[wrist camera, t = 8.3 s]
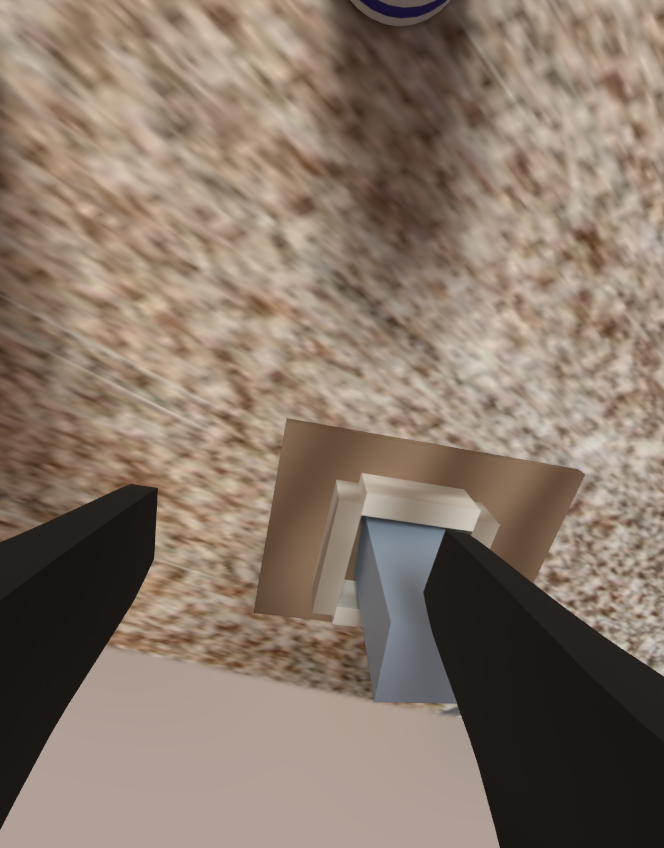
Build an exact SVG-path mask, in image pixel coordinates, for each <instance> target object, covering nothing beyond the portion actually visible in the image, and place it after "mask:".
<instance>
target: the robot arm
mask: <svg viewBox="0 0 664 848" xmlns="http://www.w3.org/2000/svg"><path fill="white" fill-rule="evenodd" d="M157 493H158V488H154V487H147V486H140V485H134V484H130V485H127V486H125V487H122V488H120V489H118V490H115V491H113V492H111V493H109V494H107V495H105V496H102V497H100V498H98V499H96V500H94V501H92V502H90V503H88V504H85V505H83V506H81V507H79V508H77V509H75V510H73V511H70V512H68V513H66V514H64V515H62V516H60V517H57V518H55V519H53V520H51V521H49V522H47V523H44V524H42V525H40V526H38V527H35V528H33V529H31V530H28V531H26V532H24V533H21V534H19V535H17V536H14V537H12V538H9V539H7V540H5V541H2V542H0V829H1V827H2V825H3V823H4V821H5V819H6V817H7V816H8V814H9V812H10V810H11V808H12V806H13V804H14V802H15V800H16V798H17V796H18V795H19V793H20V791H21V789H22V787H23V785H24V783H25V781H26V779H27V778H28V776H29V774H30V772H31V770H32V768H33V766H34V764H35V763H36V761H37V759H38V757H39V755H40V753H41V751H42V749H43V747H44V746H45V744H46V742H47V740H48V738H49V736H50V734H51V733H52V731H53V729H54V728H55V726H56V724H57V723H58V721H59V719H60V718H61V716H62V714H63V712H64V710H65V709H66V707H67V706H68V704H69V703H70V701H71V699H72V698H73V696H74V695H75V693H76V692H77V690H78V688H79V687H80V685H81V684H82V682H83V680H84V679H85V677H86V676H87V674H88V673H89V671H90V669H91V668H92V666H93V665H94V663H95V662H96V660H97V658H98V657H99V655H100V654H101V652H102V651H103V649H104V647H105V646H106V644H107V643H108V641H109V640H110V638H111V636H112V635H113V633H114V632H115V630H116V628H117V627H118V625H119V624H120V622H121V621H122V619H123V617H124V616H125V614H126V613H127V611H128V609H129V608H130V606H131V604H132V603H133V601H134V600H135V598H136V596H137V593H138V591H139V589H140V587H141V585H142V583H143V581H144V579H145V577H146V575H147V573H148V571H149V568H150V566H151V564H152V562H153V560H154V551H155V531H156V512H157ZM423 594H424V599H425V604H426V609H427V614H428V618H429V622H430V626H431V630H432V634H433V637H434V640H435V643H436V646H437V649H438V652H439V654H440V657H441V660H442V663H443V666H444V669H445V671H446V674H447V677H448V680H449V683H450V685H451V688H452V691H453V694H454V696H455V699H456V702H457V705H458V708H459V710H460V713H461V716H462V719H463V721H464V724H465V727H466V730H467V733H468V735H469V738H470V741H471V745H472V748H473V751H474V754H475V757H476V760H477V763H478V766H479V770H480V774H481V778H482V781H483V785H484V789H485V792H486V796H487V800H488V804H489V807H490V811H491V815H492V818H493V822H494V825H495V830H496V833H497V838H498V842H499V846H500V848H664V676H662V675H661V674H659V673H658V672H656V671H655V670H653V669H652V668H650V667H649V666H647V665H646V664H644V663H642V662H641V661H639V660H638V659H636V658H635V657H633V656H632V655H630V654H629V653H627V652H626V651H624V650H623V649H621V648H620V647H618V646H617V645H615V644H614V643H613V642H611V641H610V640H608V639H607V638H605V637H604V636H603V635H601V634H600V633H598V632H597V631H596V630H594V629H593V628H591V627H590V626H589V625H587V624H586V623H585V622H583V621H582V620H581V619H579V618H578V617H576V616H575V615H574V614H572V613H571V612H570V611H568V610H567V609H566V608H564V607H563V606H562V605H560V604H559V603H558V602H556V601H555V600H554V599H552V598H551V597H550V596H549V595H547V594H546V593H545V592H543V591H542V590H541V589H540V588H538V587H537V586H536V585H535V584H533V583H532V582H531V581H529V580H528V579H527V578H526V577H524V576H523V575H522V574H521V573H519V572H518V571H517V570H516V569H514V568H513V567H512V566H511V565H509V564H508V563H507V562H505V561H504V560H503V559H502V558H500V557H499V556H498V555H497V554H495V553H494V552H493V551H491V550H490V549H489V548H488V547H486V546H485V545H484V544H482V543H481V542H480V541H478V540H477V539H475V538H474V537H472V536H471V535H469V534H468V533H461V532H454V531H448V530H445V532H444V535H443V538H442V541H441V544H440V546H439V549H438V552H437V555H436V558H435V560H434V563H433V566H432V569H431V572H430V574H429V577H428V580H427V583H426V585H425V588H424V591H423Z"/></svg>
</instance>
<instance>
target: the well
mask: <svg viewBox="0 0 664 848" xmlns="http://www.w3.org/2000/svg"><path fill="white" fill-rule="evenodd" d="M584 476H585V474H584V473H582V472H581V471H579V470H578V469H573V468H567V467H561V466H556V465H550V464H544V463H539V462H533V461H527V460H521V459H516V458H510V457H504V456H499V455H493V454H487V453H481V452H476V451H470V450H464V449H459V448H453V447H447V446H441V445H436V444H430V443H424V442H419V441H413V440H407V439H401V438H396V437H390V436H384V435H378V434H373V433H367V432H361V431H356V430H350V429H344V428H338V427H333V426H327V425H321V424H316V423H310V422H304V421H298V420H293V419H287V421H286V426H285V432H284V438H283V444H282V450H281V456H280V461H279V467H278V473H277V479H276V485H275V491H274V497H273V502H272V508H271V514H270V520H269V526H268V532H267V538H266V543H265V549H264V555H263V561H262V567H261V573H260V579H259V584H258V590H257V596H256V602H255V608H254V613H260V614H269V615H278V616H287V617H296V618H305V619H314V620H323V621H332V624H335V625H344V626H353V627H362V628H363V626H362V620H361V613H360V607H359V600H358V594H357V587H356V580H355V574H354V567H355V561H356V555H357V548H358V542H359V536H360V529H361V523H362V517H363V516H370V517H377V518H384V519H391V520H397V521H404V522H411V523H418V524H425V525H431V526H438V527H444V529H445V530H448V531H454V532H461V533H468V534H469V535H471V536H472V537H474V538H475V539H477V540H478V541H480V542H481V543H482V544H484V545H485V546H486V547H488V548H489V549H490V550H491V551H493V552H494V553H495V554H497V555H498V556H499V557H500V558H502V559H503V560H504V561H505V562H507V563H508V564H509V565H511V566H512V567H513V568H514V569H516V570H517V571H518V572H519V573H521V574H522V575H523V576H524V577H526V578H527V579H528V580H529V581H531V582H532V583H533V582H534V580H535V578H536V576H537V574H538V572H539V570H540V568H541V566H542V564H543V562H544V559H545V557H546V555H547V553H548V551H549V549H550V547H551V545H552V543H553V541H554V539H555V536H556V534H557V532H558V530H559V528H560V526H561V524H562V522H563V520H564V518H565V516H566V513H567V511H568V509H569V507H570V505H571V503H572V501H573V499H574V497H575V495H576V493H577V490H578V488H579V486H580V484H581V482H582V480H583V478H584Z"/></svg>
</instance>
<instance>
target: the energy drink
mask: <svg viewBox="0 0 664 848" xmlns="http://www.w3.org/2000/svg"><path fill="white" fill-rule="evenodd" d="M350 1H351V2H352V3H353V4H354V5H355V6H356V7H357V8H358V9H359V10H360V11H362V12H363V13H364V14H365V15H367V16H368V17H369V18H371V19H374V20H376V21H378V22H380V23H383V24H387V25H393V26H406V25H414V24H417V23H419V22H422V21H425V20H427V19H429V18H430V17H432V16H433V15H435V14H437V13H438V12H440V11H441V10H442V9H443V8H444V7H445V6H446V5H447V4H448V3H449V2H450V1H451V0H350Z"/></svg>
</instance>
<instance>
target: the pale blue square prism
mask: <svg viewBox="0 0 664 848" xmlns="http://www.w3.org/2000/svg"><path fill="white" fill-rule="evenodd" d="M444 532H445V529H444V527H438V526H431V525H425V524H418V523H411V522H404V521H397V520H391V519H384V518H377V517H370V516H363V517H362V523H361V529H360V536H359V542H358V548H357V555H356V561H355V567H354V574H355V580H356V587H357V594H358V600H359V607H360V613H361V620H362V626H363V633H364V639H365V646H366V653H367V659H368V666H369V672H370V679H371V685H372V692H373V698H374V702H403V703H451V704H457V702H456V699H455V696H454V694H453V691H452V688H451V685H450V683H449V680H448V677H447V674H446V671H445V669H444V666H443V663H442V660H441V657H440V654H439V652H438V649H437V646H436V643H435V640H434V637H433V634H432V630H431V626H430V622H429V618H428V614H427V609H426V604H425V599H424V594H423V591H424V588H425V585H426V583H427V580H428V577H429V574H430V572H431V569H432V566H433V563H434V560H435V558H436V555H437V552H438V549H439V546H440V544H441V541H442V538H443V535H444Z"/></svg>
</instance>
